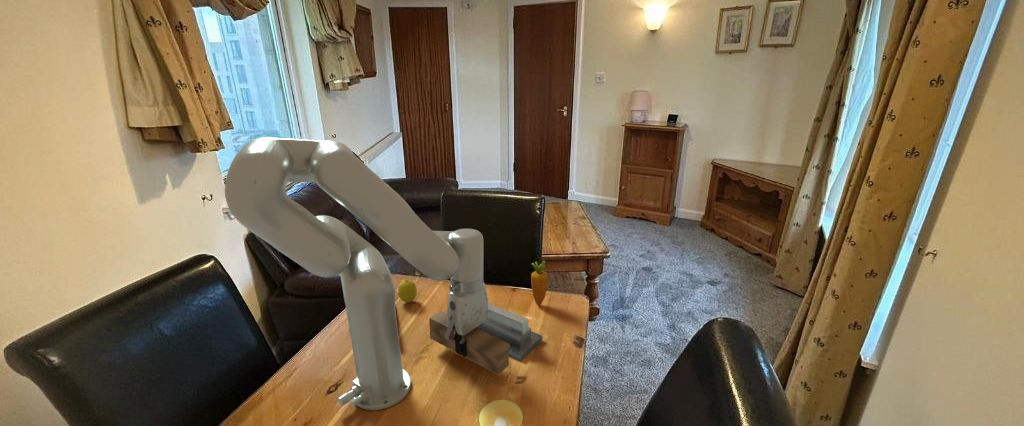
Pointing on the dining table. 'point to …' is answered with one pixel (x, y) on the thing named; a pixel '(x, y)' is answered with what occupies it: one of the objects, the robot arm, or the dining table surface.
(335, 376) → the dining table surface
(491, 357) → the walnut beam
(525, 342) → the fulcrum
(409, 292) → the lemon
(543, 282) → the carrot
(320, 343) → the dining table surface
